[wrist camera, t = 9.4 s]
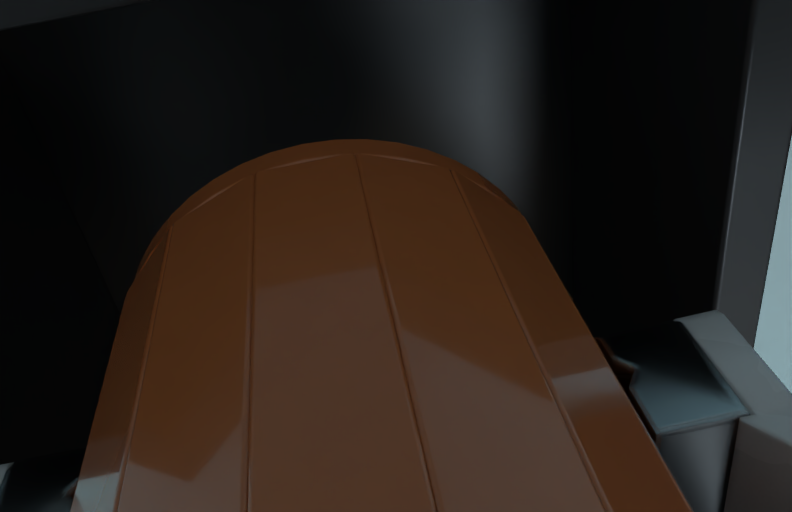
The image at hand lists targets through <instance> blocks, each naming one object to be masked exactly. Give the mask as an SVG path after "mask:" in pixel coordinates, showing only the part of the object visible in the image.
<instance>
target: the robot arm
mask: <svg viewBox="0 0 792 512" xmlns="http://www.w3.org/2000/svg"><path fill="white" fill-rule="evenodd" d="M595 339H596V340H597V342H598V344H599V346H600V347H601V349H602V351H603V353H604V354H605V356H606V358H607V360H608V361H609V363H610V365H611V367H612V368H613V370H614V372H615V373H616V375H617V377H618V379H619V380H620V382H621V384H622V386H623V387H624V389H625V391H626V393H627V394H628V396H629V398H630V400H631V401H632V403H633V405H634V407H635V408H636V410H637V412H638V414H639V415H640V417H641V419H642V421H643V422H644V424H645V426H646V428H647V429H648V431H649V433H650V435H651V436H652V438H653V440H654V442H655V443H656V445H657V447H658V448H659V450H660V452H661V454H662V455H663V457H664V459H665V461H666V462H667V464H668V466H669V468H670V469H671V471H672V473H673V475H674V476H675V478H676V480H677V482H678V483H679V485H680V487H681V489H682V490H683V492H684V494H685V495H686V497H687V499H688V501H689V502H690V504H691V506H692V508H693V509H694V511H695V512H792V394H791V392H790V391H789V390H788V389H787V388H786V387H785V385H784V384H783V383H782V382H781V381H780V379H779V378H778V377H777V376H776V375H775V374H774V372H773V371H772V370H771V369H770V368H769V367H768V365H767V364H766V363H765V362H764V361H763V360H762V358H761V357H760V356H759V355H758V354H757V353H756V351H755V350H754V349H753V348H752V347H751V345H750V344H749V343H748V342H747V341H746V340H745V338H744V337H743V336H742V335H741V334H740V333H739V331H738V330H737V329H736V328H735V327H734V326H733V324H732V323H731V322H730V321H729V320H728V318H727V317H726V316H725V315H724V314H722V313H720V312H718V311H716V310H713V311H708V312H704V313H700V314H695V315H691V316H686V317H682V318H678V319H675V320H673V321H666V322H661V323H657V324H652V325H648V326H643V327H639V328H634V329H630V330H626V331H621V332H617V333H612V334H608V335H603V336H599V337H595ZM85 450H86V447H85V448H80V449H75V450H70V451H64V452H59V453H54V454H49V455H44V456H38V457H33V458H28V459H23V460H17V461H15V462H12V463H7V464H2V465H0V512H70V508H71V504H72V501H73V497H74V493H75V489H76V485H77V481H78V477H79V474H80V470H81V466H82V462H83V458H84V454H85Z"/></svg>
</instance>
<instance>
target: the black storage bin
mask: <svg viewBox="0 0 792 512" xmlns="http://www.w3.org/2000/svg"><path fill="white" fill-rule="evenodd" d="M791 135H792V0H0V465H2V464H7V463H12V462H15V461H17V460H23V459H28V458H33V457H38V456H44V455H49V454H54V453H59V452H64V451H70V450H75V449H80V448H85V447H87V443H88V439H89V435H90V431H91V427H92V423H93V420H94V416H95V412H96V408H97V404H98V400H99V396H100V393H101V389H102V385H103V381H104V377H105V373H106V369H107V366H108V362H109V358H110V354H111V350H112V346H113V342H114V339H115V335H116V331H117V327H118V323H119V319H120V315H121V312H122V308H123V304H124V300H125V297H126V294H127V291H128V290H129V288H130V287H131V285H132V284H133V281H134V278H135V275H136V272H137V270H138V267H139V264H140V261H141V259H142V257H143V256H144V254H145V252H146V250H147V248H148V246H149V245H150V243H151V241H152V239H153V238H154V236H155V235H156V234H157V232H158V231H159V230H160V228H161V227H162V226H163V224H164V223H165V222H166V221H167V219H168V218H169V217H170V216H171V215H172V214H173V213H174V212H175V211H176V210H177V209H178V208H179V207H180V206H181V205H182V204H183V203H184V202H185V201H186V200H187V199H188V198H189V197H190V196H192V195H193V194H194V193H196V192H197V191H198V190H200V189H201V188H203V187H204V186H205V185H207V184H208V183H209V182H211V181H212V180H213V179H215V178H217V177H219V176H220V175H222V174H224V173H226V172H228V171H230V170H231V169H233V168H235V167H237V166H239V165H240V164H242V163H245V162H247V161H250V160H252V159H255V158H258V157H260V156H263V155H265V154H268V153H270V152H273V151H277V150H281V149H285V148H289V147H292V146H296V145H300V144H305V143H312V142H320V141H327V140H335V139H370V140H380V141H389V142H398V143H402V144H406V145H410V146H414V147H419V148H423V149H427V150H430V151H432V152H435V153H438V154H440V155H443V156H446V157H448V158H451V159H453V160H456V161H457V162H459V163H461V164H463V165H465V166H467V167H468V168H470V169H472V170H474V171H476V172H477V173H479V174H480V175H482V176H483V177H484V178H486V179H487V180H488V181H490V182H491V183H492V184H494V185H495V186H496V187H498V188H499V189H500V190H501V191H502V192H503V193H504V194H505V195H506V196H507V197H508V198H509V199H510V200H511V201H512V202H513V203H514V204H515V205H516V206H517V207H518V209H519V210H520V212H521V213H522V215H523V216H524V217H525V218H526V220H527V221H528V223H529V224H530V226H531V228H532V229H533V231H534V233H535V235H536V236H537V238H538V240H539V242H540V243H541V245H542V247H543V249H544V250H545V252H546V254H547V255H548V257H549V259H550V260H551V262H552V264H553V266H554V267H555V269H556V271H557V272H558V274H559V276H560V278H561V279H562V281H563V283H564V285H565V286H566V288H567V290H568V292H569V293H570V295H571V297H572V299H573V300H574V302H575V304H576V306H577V307H578V309H579V311H580V312H581V314H582V316H583V318H584V319H585V321H586V323H587V325H588V326H589V328H590V330H591V332H592V333H593V335H594V337H599V336H603V335H608V334H612V333H617V332H621V331H626V330H630V329H634V328H639V327H643V326H648V325H652V324H657V323H661V322H666V321H673V320H675V319H678V318H682V317H686V316H691V315H695V314H700V313H704V312H708V311H713V310H716V311H718V312H720V313H722V314H724V315H725V316H726V317H727V318H728V320H729V321H730V322H731V323H732V324H733V326H734V327H735V328H736V329H737V330H738V331H739V333H740V334H741V335H742V336H743V337H744V338H745V340H746V341H747V342H748V343H749V344H750V345H751V347H752V348H754V342H755V337H756V331H757V326H758V320H759V314H760V309H761V303H762V298H763V292H764V286H765V281H766V275H767V270H768V264H769V259H770V253H771V247H772V242H773V236H774V231H775V225H776V219H777V214H778V208H779V203H780V197H781V191H782V186H783V180H784V175H785V169H786V163H787V158H788V152H789V147H790V141H791Z"/></svg>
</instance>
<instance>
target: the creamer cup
mask: <svg viewBox="0 0 792 512" xmlns="http://www.w3.org/2000/svg"><path fill="white" fill-rule="evenodd" d="M70 512H695V511H694V509H693V508H692V506H691V504H690V502H689V501H688V499H687V497H686V495H685V494H684V492H683V490H682V489H681V487H680V485H679V483H678V482H677V480H676V478H675V476H674V475H673V473H672V471H671V469H670V468H669V466H668V464H667V462H666V461H665V459H664V457H663V455H662V454H661V452H660V450H659V448H658V447H657V445H656V443H655V442H654V440H653V438H652V436H651V435H650V433H649V431H648V429H647V428H646V426H645V424H644V422H643V421H642V419H641V417H640V415H639V414H638V412H637V410H636V408H635V407H634V405H633V403H632V401H631V400H630V398H629V396H628V394H627V393H626V391H625V389H624V387H623V386H622V384H621V382H620V380H619V379H618V377H617V375H616V373H615V372H614V370H613V368H612V367H611V365H610V363H609V361H608V360H607V358H606V356H605V354H604V353H603V351H602V349H601V347H600V346H599V344H598V342H597V340H596V339H595V337H594V335H593V333H592V332H591V330H590V328H589V326H588V325H587V323H586V321H585V319H584V318H583V316H582V314H581V312H580V311H579V309H578V307H577V306H576V304H575V302H574V300H573V299H572V297H571V295H570V293H569V292H568V290H567V288H566V286H565V285H564V283H563V281H562V279H561V278H560V276H559V274H558V272H557V271H556V269H555V267H554V266H553V264H552V262H551V260H550V259H549V257H548V255H547V254H546V252H545V250H544V249H543V247H542V245H541V243H540V242H539V240H538V238H537V236H536V235H535V233H534V231H533V229H532V228H531V226H530V224H529V223H528V221H527V220H526V218H525V217H524V216H523V215H522V213H521V212H520V210H519V209H518V207H517V206H516V205H515V204H514V203H513V202H512V201H511V200H510V199H509V198H508V197H507V196H506V195H505V194H504V193H503V192H502V191H501V190H500V189H499V188H498V187H496V186H495V185H494V184H492V183H491V182H490V181H488V180H487V179H486V178H484V177H483V176H482V175H480V174H479V173H477V172H476V171H474V170H472V169H470V168H468V167H467V166H465V165H463V164H461V163H459V162H457V161H456V160H453V159H451V158H448V157H446V156H443V155H440V154H438V153H435V152H432V151H430V150H427V149H423V148H419V147H414V146H410V145H406V144H402V143H398V142H389V141H380V140H370V139H335V140H327V141H320V142H312V143H305V144H300V145H296V146H292V147H289V148H285V149H281V150H277V151H273V152H270V153H268V154H265V155H263V156H260V157H258V158H255V159H252V160H250V161H247V162H245V163H242V164H240V165H239V166H237V167H235V168H233V169H231V170H230V171H228V172H226V173H224V174H222V175H220V176H219V177H217V178H215V179H213V180H212V181H211V182H209V183H208V184H207V185H205V186H204V187H203V188H201V189H200V190H198V191H197V192H196V193H194V194H193V195H192V196H190V197H189V198H188V199H187V200H186V201H185V202H184V203H183V204H182V205H181V206H180V207H179V208H178V209H177V210H176V211H175V212H174V213H173V214H172V215H171V216H170V217H169V218H168V219H167V221H166V222H165V223H164V224H163V226H162V227H161V228H160V230H159V231H158V232H157V234H156V235H155V236H154V238H153V239H152V241H151V243H150V245H149V246H148V248H147V250H146V252H145V254H144V256H143V257H142V259H141V261H140V264H139V267H138V270H137V272H136V275H135V278H134V281H133V284H132V285H131V287H130V288H129V290H128V291H127V294H126V297H125V300H124V304H123V308H122V312H121V315H120V319H119V323H118V327H117V331H116V335H115V339H114V342H113V346H112V350H111V354H110V358H109V362H108V366H107V369H106V373H105V377H104V381H103V385H102V389H101V393H100V396H99V400H98V404H97V408H96V412H95V416H94V420H93V423H92V427H91V431H90V435H89V439H88V443H87V447H86V450H85V454H84V458H83V462H82V466H81V470H80V474H79V477H78V481H77V485H76V489H75V493H74V497H73V501H72V504H71V508H70Z"/></svg>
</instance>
